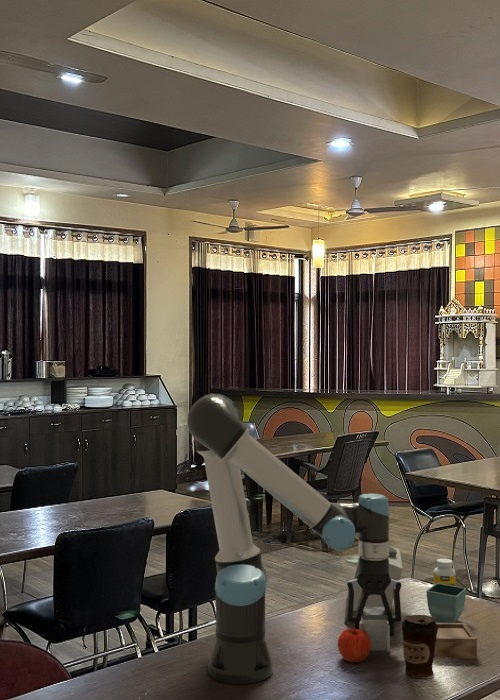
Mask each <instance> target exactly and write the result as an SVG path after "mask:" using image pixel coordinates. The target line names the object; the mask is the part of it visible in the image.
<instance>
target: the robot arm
mask: <svg viewBox="0 0 500 700" xmlns="http://www.w3.org/2000/svg"><path fill="white" fill-rule="evenodd" d="M239 418H240V417H239V410H238V408H237V406H236V404H235V403H234V401H233V400H232V399H230V398H229V397H228V396H226V395H224V394H220V393H210V394H206V395H203V396H202V397H200V398H199V399H198V400H196V401H195V402H194V403H193V405H192V406H191V407H190V409H189V411H188V414H187V418H186V424H187V427H188V430H189V433H190V434H191V435H192V437H193V439H194V444H195V445H194V446H195V451H196V453H198V454H199V455H201V456H202V457H203V460H204V461H203V462H204V466H205V467H204V468H205V473H206V479H207V484H208V489H209V491H208V492H209V496H210V503H211V508H212V514H213V520H214V526H215V530H216V536H217V542H218V548H219V551H218V552H217V554H216V555H215V557H214V560H215V566H216V574H217V575H216V577H215V583H214V591H215V640H214V641H213V642H214V643H213V646H212V649H211V652H210V655H209V659H208V663H207V664H208V668H207V670H208V675H209V676H210V677H211V678H212V679H214V680H216V681H219V682H222V683H226V684H232V685H247V684H254V683H258V682H261V681H262V682H263V681H264V680H267V679H268V678H269V677H270V676H272V673H273V671H274V669H273V667H274V666H273V658H272V656H271V652H270V649H269V646H268V642H267V639H266V591H267V589H266V588H267V583H268V582H267V580H268V579H267V572H266V569H265V567H264V564H263V560H262V559H263V558H262V552H261V549H260V548H259V547H257V545H256V544H254V543H253V541H254V540H253V536H252V530H251V523H250V518H249V513H248V508H247V501H246V495H245V489H244V484H243V477H242V473H241V471H242V472H243V473H244V474H245V475H247V476H248V477H249V478H251V479H252V480H253V481H254V482H255V483H256V484H258V485H259V486H260V487H261V488H262V489H264V490H265V491H266V492H267V493H269V495H271V496H272V497H273V498H275V499H276V500H277V501H278V502H279V503H281V504H282V505H283V506H284V507H286V509H288V510H289V511H291V513H293V514H294V516H296V517H297V518H299V520H301V521H302V522H304V523H305V524H306V525H307V526H308V527H309V528H311V531H312V533H315V534H317V535H318V536H320V538H322V540H323V541H324V543H325V544H326V545H327V546H328V547H329V548H331V549H332V550H335V551H343V550H347V549H348V548H350V547H351V546H352V545H353V543H354V542H355V538H356V534H358V555H359V557H358V560H359V574H358V576H357V579H354V580H353V579H347V580H346V585H347V588H348V589H347V596H348V603H347V619H348V621H349V622H353V623H354V624H353V628H354V627H356V629H359V630H363V625H362V622H361V621H360V620H361V617H362V612H363V610H364V607H365V604H366V601H367V599H368V596H369V595H373V594H375V595H380V596H381V599H382V602H383V606H384V609H385V611H386V613H387V615H388V621H387V650H388V652H390V651H391V650H390V648H391V646H390V645H391V644H390V643H391V642H390V638H391V637H392V638H393V637H394V635H395V624H396V623H400V622H401V621H402V611H401V610H402V609H401V607H402V606H401V594H400V593H401V588H402V583H401V581H400V579H399V580H393V579H391V578H390V576H389V559H388V558H387V557H388V556H389V546H390V542H389V541H390V540H389V539H390V512H389V499H388V497H387V496H385V495H384V494H379V493H363V494H360V495H359V496H358V500H357V502H330V501H329V500H328V499H326V498H325V497H324V496H323V495H322V494H321V493H320V492H318V491H317V490H316V489H315V488H314V487H312V486H311V485H310V484H309V483H307V481H305V480H304V479H303V478H302V477H301V476H300V475H298V474H297V473H295V472H294V471H293V470H292V469H291V468H290V467H288V466H287V465H286V464H285V463H284V462H283V461H282V460H280V458H278V457H277V456H276V455H274V454H273V453H272V452H270V450H268V449H267V448H266V447H265V446H264V445H262V444H261V443H260V442H258V440H257V439H255V438H254V436H252V435H250V429H249V427H248V426H247V425H245V424H244V423H243V422H242V421H241V420H240V419H239ZM357 584H359V585H360V587H361V588H362V593H361V597H360V600H359V603H358V606H357V610H356V613H355V616H353V604H354V589H355V588H356V585H357ZM389 584H391V586H392V588H393V595H394V599H393V606H394V608H393V609H394V615H393V616H392V613H393V612H392V613H391V610H390V607H389V604H388V601H387V597H386V594H385V590H386V589H387V587H388V586H389Z"/></svg>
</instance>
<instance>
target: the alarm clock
mask: <svg viewBox="0 0 500 700" xmlns="http://www.w3.org/2000/svg"><path fill="white" fill-rule="evenodd" d="M387 558H388V559H389V576H390V578H391V579H393V580H399V581H400V579H401V575H402V572H403V563H402V557H401V549H399V548H396V547H394V546H391V545H389V556H388V557H387ZM358 574H359V559H358V560H357V564H356V566H355V570H354V574H353V577H352V580H354V579H357V576H358ZM361 593H362V588H361V587H360V585H359V584H357V585H356V588H355V589H354V604H353V616H355V613H356V610H357V606H358V603H359V600H360V597H361ZM385 594H386V597H387V601H388V604H389V607H390V610H391V613H392V616H394V614H393V603H394V595H393V588H392V586H391V584H389V586H388V587H387V589H386V590H385ZM347 603H348V595H347V596H346V601H345V610H344V622H343V624H344V625H354V623H353V622H349V621H348V619H347ZM365 607H384V606H383V602H382V599H381V596H380V595H375V594H373V595H369V596H368V599H367V601H366V604H365ZM360 621H361V620H360ZM387 621H388V620H387Z"/></svg>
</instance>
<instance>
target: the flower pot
mask: <svg viewBox="0 0 500 700" xmlns="http://www.w3.org/2000/svg"><path fill="white" fill-rule="evenodd" d="M466 596H467V587H460V586H457V585H456V586H451V585H445V584H439V583H436V584H435V585H433V584H432V586H430V587H429V588H428V589H426V601H427V608H428V612H429V614H430V616H431V617H433V618H435V619H436V621H435V622H436V623H457V622H458V620H459V619H460V617H461V615H462V613H463V611H464V608H465V604H466V603H465V601H466Z"/></svg>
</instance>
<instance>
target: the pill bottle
mask: <svg viewBox="0 0 500 700" xmlns="http://www.w3.org/2000/svg"><path fill="white" fill-rule="evenodd" d="M453 564H454V562H453V560H452V559H450V558H437V559H436V566H437V567H435V568H434V569H433V584H432V586H433V585H435V584H436V583H439V584H445V585H451V586H456V587H457V585H456V582H457V581H456V580H457V579H456V578H457V577H456V576H457V573H456V570H455V569H454V568H453Z"/></svg>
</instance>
